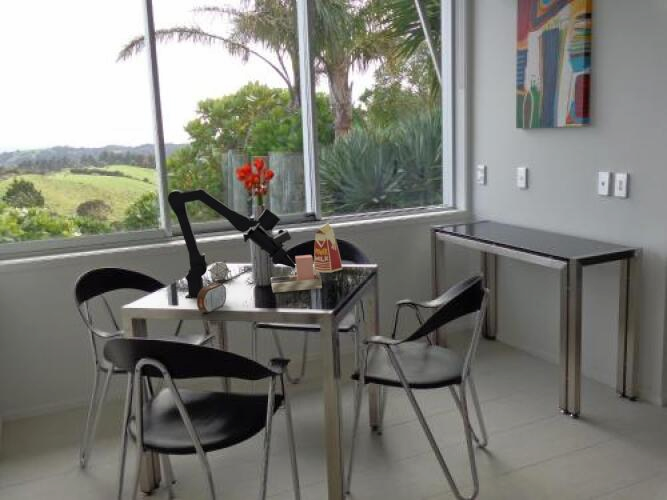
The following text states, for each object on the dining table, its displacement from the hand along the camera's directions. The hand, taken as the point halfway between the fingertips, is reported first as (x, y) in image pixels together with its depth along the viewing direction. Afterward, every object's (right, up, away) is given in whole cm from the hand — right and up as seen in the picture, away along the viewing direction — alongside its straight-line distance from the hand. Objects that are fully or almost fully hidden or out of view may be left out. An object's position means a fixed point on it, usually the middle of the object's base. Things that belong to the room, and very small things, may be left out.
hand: (295, 266), depth 249 cm
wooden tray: (0, -7, +1) cm, 7 cm away
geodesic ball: (-32, -6, +22) cm, 39 cm away
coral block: (+4, -6, +2) cm, 7 cm away
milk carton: (+12, -2, +28) cm, 30 cm away
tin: (-26, -14, -25) cm, 39 cm away
